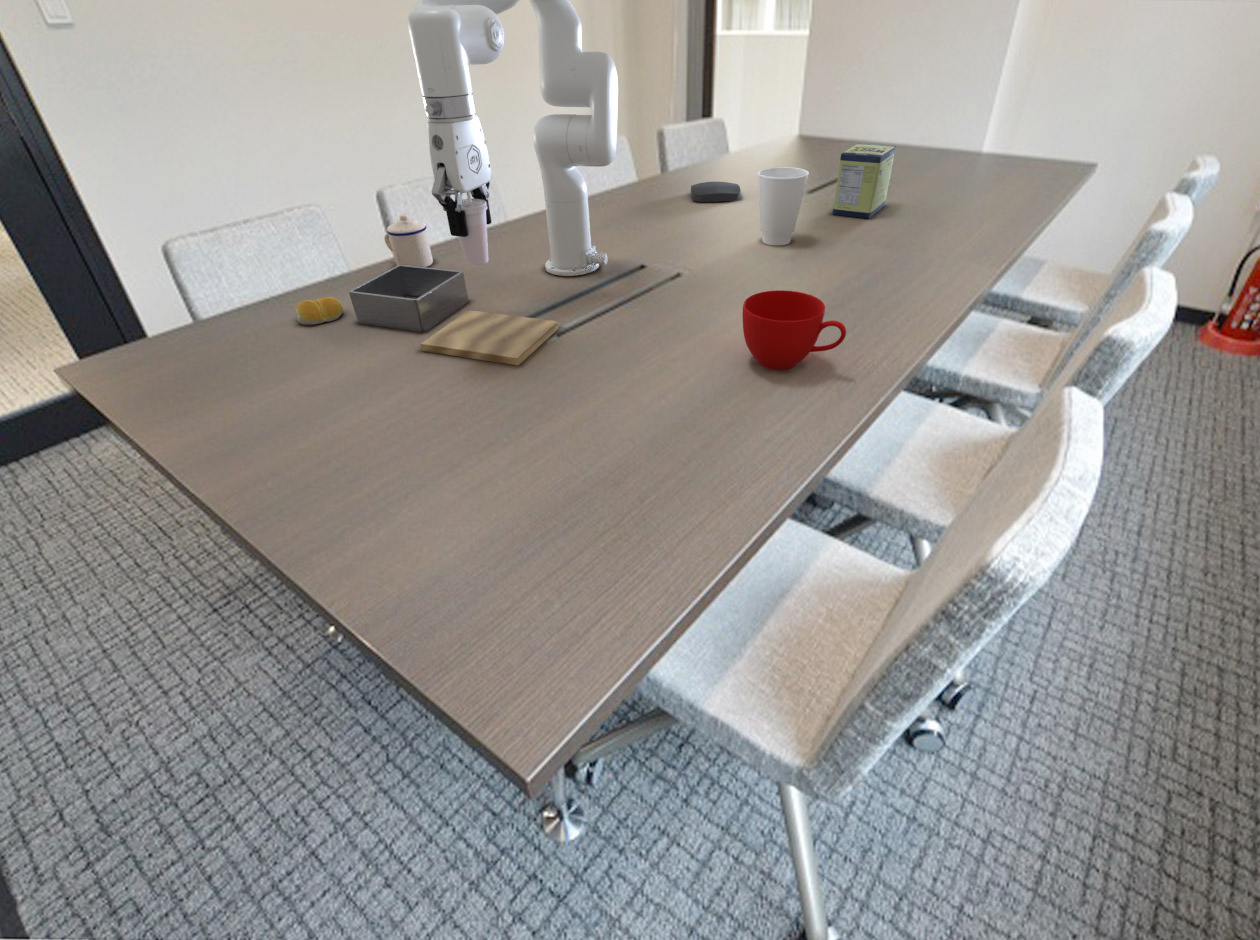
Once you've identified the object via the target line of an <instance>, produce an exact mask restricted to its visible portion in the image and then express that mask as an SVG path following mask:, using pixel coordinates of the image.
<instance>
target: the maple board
mask: <svg viewBox="0 0 1260 940" xmlns="http://www.w3.org/2000/svg"><path fill="white" fill-rule="evenodd" d="M559 327H560V326H559V321H558V320H551V319H543V318H536V317H535V318H534V317H526V316H517V315H510V314H502V313H496V312H495V313H494V312H487V311H478V310H470V309H467V310H466V311H465V312H464V313H461V314H460V315H459V316H458V317H456V318H455V319H453V320H452V321H451V322H449V323H448V324H446V325H445V326H443V327H442V328H441V329H439V330H438V331H436V332H435V333H433V334H432V335H431V336H429V337H428V338H426V339H425V340H424V341H422V342H420V348H421V351H422V352H426V353H433V354H439V355H446V356H452V357H453V356H454V357H458V358H459V357H461V358H466V359H472V360H479V361H484V362H485V361H486V362H492V363H498V364H505V365H512V366H520V365H521V364H522V363H523V362H524V361H525V360H527V359H528V357H530V356H531V355H532V354H533V353H534V352H535V351H536V350H537V349H538V348H540V346H542V345H543V344H544V343H545V342H546V341H547V340H548V339H549V338H550V337H551V336H552V335H554V334H555V332H558V330H559V329H560V328H559Z"/></svg>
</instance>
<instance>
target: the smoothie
mask: <svg viewBox="0 0 1260 940" xmlns="http://www.w3.org/2000/svg"><path fill="white" fill-rule="evenodd" d="M465 194H466V197H467V198H464V199H463V198H462V210H461V211H465V215H466V221H467V226H468V232H469V235H468V236H467V237H460V236H457V238H458V240H459V242H460V243H459V244H460V246H461V249H462V252H463V256H464V258H465V261H466V264H467V265H468V266H473V267H474V266H482V265H486V264H487V263H489V245H488V243H489V242H488V226H487V225H488V224H487V222H486V209H487V203H486V201H485V200H482V199H471V198H472V195H471V193H470V191H469V192H466V193H465Z"/></svg>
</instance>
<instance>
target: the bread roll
mask: <svg viewBox="0 0 1260 940" xmlns="http://www.w3.org/2000/svg"><path fill="white" fill-rule="evenodd" d="M294 311H295V313H296V319H297V322H298V323H299V324H301V325H305V326H310V325H312V326H313V325H318V324H323V323H325V322H333V321H335V320H338V319H339V318H340V316H342V314H343V313H344V307H343V304H342V303H341V302H340V300H338V299H337V298H335V297H332V296H326V297H320V298H317V299H315V300H311V299H307V300H301V301H300V302H298V303H297V305H296V307H295V310H294Z"/></svg>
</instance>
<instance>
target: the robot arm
mask: <svg viewBox="0 0 1260 940" xmlns="http://www.w3.org/2000/svg"><path fill="white" fill-rule="evenodd" d="M528 1H529V3H530V5H531V7H532V10H533V12H534V15H535V18H536V22H537V28H538V29H537V30H538V44H539V45H538V57H539V58H538V59H539V62H538V64H539V88H540V94H541V96H542V99H543V101H544V102H545V103H546V104H547V105H550V106H553V107H558V108H589V109H590V112H591V114H577V113H576V114H575V113H574V114H572V113H566V114H565V113H563V114H562V113H560V114H559V113H555V114H548V115H545V116H542V117H541V118H539V119H538V121H537V122H535V125H534V126H533V131H532V141H533V147H534V151H535V154H536V159H537V161H538V165H539V170H540V174H541V180H542V187H543V188H542V189H543V196H544V197H543V198H544V207H545V215H546V225H547V235H548V241H549V252H550V258H549V259H548V260H546V262H545V263H544V267H545V271H546V272H548V273H549V274H551V275H555V276H558V277H559V276H560V277H577V276H583V275H587V274H590V273H592V272H595V271H596V270H597V269H598V268H599V267H600V265H605V266H606V265H607V264H608V259H609V258H608V255H607V253H606V252H597V249H596V245H592V237H591V224H590V210H589V196H588V195H589V194H588V193H589V192H588V186H587V183H586V180H585V178H584V176H583V175H582V172H581V171H580V169H578V167H593V168H594V167H598V168H599V167H607V166H609V165H610V164H612V162H613V161H614V159H615V157H616V153H617V146H618V145H617V144H618V143H617V142H618V119H619V118H618V115H619V114H618V113H619V112H618V111H619V78H618V77H619V76H618V71H617V66H616V64H615V61H614V60H613V58H612V57H611V56H610V55H609V54H608V53H605V52H603V51H583V26H582V21H581V19H580V16H579V14H578V12H577V10H576V9H575V7H574V5H573V4H572V2H571V1H570V0H528ZM519 2H520V0H418V1H417V3H416V5H414V7H413V10H411V12H409V13H408V17H407V27H408V33H409V40H410V43H411V48H412V52H413V57H414V63H415V68H416V73H417V78H418V84H419V88H420V93H421V98H422V102H423V103H422V104H423V107H424V112H425V117H426V127H427V140H428V150H429V157H430V164H431V170H432V175H433V179H434V181H433V185H432V188H431V195H432V196H433V197H434V198H435V200H437V201H438V204H439V205H440V206H441V207H442V210H443V211H444V212H445V213H446V216H447V217H446V218H447V222H448V223H447V224H448V229H449V233H450V235H451V236H452V237H458V236H460V237H467V236H468V235H469V232H468V226H467V221H466V215H465V211H461V210H462V200H463V194H467V193H466V192H469V191H470V195H471V199H482V200H485V201H486V203H487V209H486V222H487V225H491V224H492V215H491V210H490V203H489V199H490V192H489V189H490V182H491V180H492V178H493V173H492V166H491V161H490V156H489V150H488V146H487V142H486V137H485V134H484V129H483V126H482V124H481V120H480V118H479V115H478V114H477V110H476V109H477V108H476V104H475V103H476V102H475V97H474V90H473V85H472V78H471V72H470V67H469V66H471V65H472V66H473V65H477V66H479V65H488V64H491V63H493V62H495V61H496V60H497V59H498V58H499V57H500V56H501V54H502V52H503V50H504V47H505V29H504V27H503V24H502V22H501V19H500V18H499V16H498V15H499V14H502V13H503V12H506V11H509V10H510V9H512V8H515V6H516V5H517V4H518V3H519ZM451 196H454V199H453V198H452V197H451Z"/></svg>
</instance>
